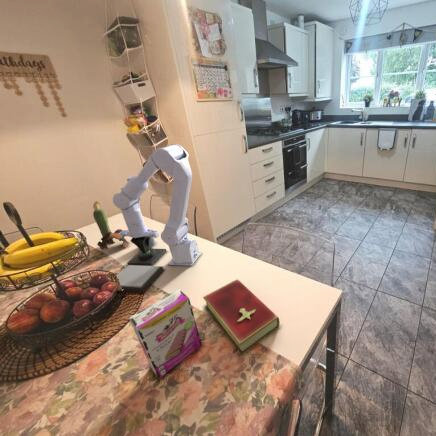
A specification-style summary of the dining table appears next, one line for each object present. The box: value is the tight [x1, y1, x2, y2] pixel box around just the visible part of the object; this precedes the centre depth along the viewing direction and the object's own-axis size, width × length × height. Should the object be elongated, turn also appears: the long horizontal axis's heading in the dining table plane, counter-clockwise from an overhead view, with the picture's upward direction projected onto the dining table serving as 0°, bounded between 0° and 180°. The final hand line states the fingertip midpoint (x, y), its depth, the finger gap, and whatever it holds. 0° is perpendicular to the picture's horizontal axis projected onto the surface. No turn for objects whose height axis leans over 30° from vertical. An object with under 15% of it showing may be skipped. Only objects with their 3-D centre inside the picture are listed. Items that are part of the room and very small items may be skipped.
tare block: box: [126, 247, 168, 266], centre depth 97 cm, size 10×10×3 cm
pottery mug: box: [97, 228, 129, 251], centre depth 106 cm, size 12×10×8 cm
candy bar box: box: [128, 288, 202, 380], centre depth 56 cm, size 11×5×16 cm, turn 141°
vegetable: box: [92, 200, 112, 237], centre depth 106 cm, size 4×4×20 cm
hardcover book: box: [202, 278, 280, 355], centre depth 69 cm, size 12×21×4 cm, turn 41°
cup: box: [149, 237, 156, 248], centre depth 106 cm, size 6×6×4 cm
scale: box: [115, 264, 165, 294], centre depth 86 cm, size 14×12×2 cm
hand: (145, 252), depth 97 cm, fingers closed, pressing on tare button
